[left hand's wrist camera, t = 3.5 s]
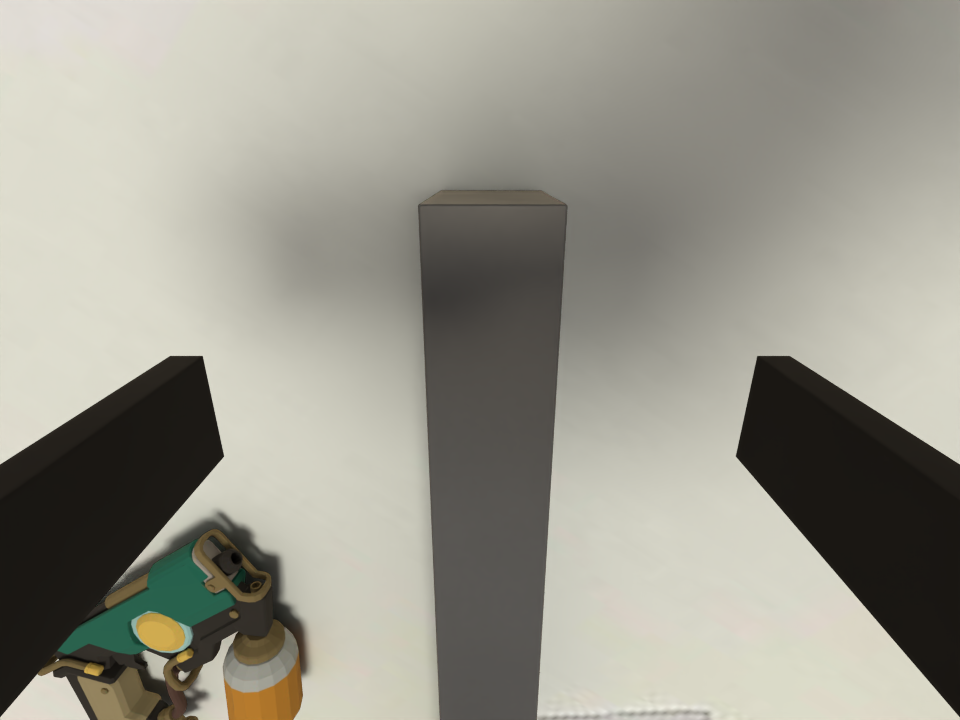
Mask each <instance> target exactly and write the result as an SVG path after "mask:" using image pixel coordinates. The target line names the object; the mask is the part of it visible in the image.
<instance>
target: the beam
mask: <svg viewBox="0 0 960 720" xmlns="http://www.w3.org/2000/svg"><path fill="white" fill-rule="evenodd" d="M418 212H419V235H420V259H421V283H422V307H423V330H424V354H425V378H426V402H427V425H428V449H429V473H430V496H431V520H432V544H433V568H434V591H435V615H436V639H437V663H438V686H439V710H440V720H537V706H538V689H539V672H540V655H541V639H542V622H543V605H544V589H545V572H546V555H547V539H548V522H549V505H550V489H551V472H552V455H553V438H554V422H555V405H556V388H557V372H558V355H559V338H560V322H561V305H562V288H563V271H564V255H565V238H566V221H567V205H566V204H564V203H563V202H561V201H559V200H557V199H555V198H554V197H552V196H550V195H548V194H547V193H545V192H543V191H516V190H441V191H440V192H438V193H436V194H435V195H433V196H432V197H430V198H429V199H427V200H425V201H424V202H422V203H421V204H419V206H418Z"/></svg>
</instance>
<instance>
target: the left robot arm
mask: <svg viewBox="0 0 960 720" xmlns="http://www.w3.org/2000/svg"><path fill="white" fill-rule="evenodd" d="M223 457H224V454H223V449H222V445H221V440H220V435H219V430H218V426H217V421H216V416H215V412H214V407H213V402H212V398H211V393H210V388H209V384H208V379H207V374H206V370H205V365H204V360H203V356H170V357H168V358H166V359H165V360H163V361H162V362H160V363H159V364H157V365H155V366H154V367H152V368H151V369H149V370H148V371H146V372H145V373H143V374H141V375H140V376H138V377H137V378H135V379H134V380H132V381H130V382H129V383H127V384H126V385H124V386H123V387H121V388H119V389H118V390H116V391H115V392H113V393H112V394H110V395H108V396H107V397H105V398H104V399H102V400H101V401H99V402H98V403H96V404H94V405H93V406H91V407H90V408H88V409H87V410H85V411H83V412H82V413H80V414H79V415H77V416H76V417H74V418H72V419H71V420H69V421H68V422H66V423H65V424H63V425H61V426H60V427H58V428H57V429H55V430H54V431H52V432H51V433H49V434H47V435H46V436H44V437H43V438H41V439H40V440H38V441H36V442H35V443H33V444H32V445H30V446H29V447H27V448H25V449H24V450H22V451H21V452H19V453H18V454H16V455H14V456H13V457H11V458H10V459H8V460H7V461H5V462H4V463H2V464H0V717H1V716H2V714H3V713H4V712H5V711H6V710H7V709H8V707H9V706H10V705H11V704H12V703H13V702H14V700H15V699H16V698H17V697H18V696H19V695H20V693H21V692H22V691H23V690H24V689H25V688H26V686H27V685H28V684H29V683H30V682H31V681H32V679H33V678H34V677H35V676H36V675H37V674H38V672H39V671H40V670H41V669H42V668H43V667H44V665H45V664H46V663H47V662H48V661H49V660H50V658H51V657H52V656H53V655H54V654H55V653H56V652H57V650H58V649H59V648H60V647H61V646H62V645H63V643H64V642H65V641H66V640H67V639H68V638H69V636H70V635H71V634H72V633H73V632H74V631H75V629H76V628H77V627H78V626H79V625H80V624H81V622H82V621H83V620H84V619H85V618H86V617H87V615H88V614H89V613H90V612H91V611H92V610H93V608H94V607H95V606H96V605H97V604H98V603H99V601H100V600H101V599H102V598H103V597H104V596H105V594H106V593H107V592H108V591H109V590H110V589H111V587H112V586H113V585H114V584H115V583H116V582H117V580H118V579H119V578H120V577H121V576H122V575H123V573H124V572H125V571H126V570H127V569H128V568H129V567H130V565H131V564H132V563H133V562H134V561H135V560H136V558H137V557H138V556H139V555H140V554H141V553H142V551H143V550H144V549H145V548H146V547H147V546H148V544H149V543H150V542H151V541H152V540H153V539H154V537H155V536H156V535H157V534H158V533H159V532H160V530H161V529H162V528H163V527H164V526H165V525H166V523H167V522H168V521H169V520H170V519H171V518H172V516H173V515H174V514H175V513H176V512H177V511H178V509H179V508H180V507H181V506H182V505H183V504H184V502H185V501H186V500H187V499H188V498H189V497H190V495H191V494H192V493H193V492H194V491H195V490H196V488H197V487H198V486H199V485H200V484H201V483H202V482H203V480H204V479H205V478H206V477H207V476H208V475H209V473H210V472H211V471H212V470H213V469H214V468H215V466H216V465H217V464H218V463H219V462H220V461H221V459H222V458H223ZM736 457H737V458H738V459H739V461H740V462H741V463H742V464H743V465H744V466H745V468H746V469H747V470H748V471H749V472H750V473H751V475H752V476H753V477H754V478H755V479H756V480H757V482H758V483H759V484H760V485H761V486H762V487H763V489H764V490H765V491H766V492H767V493H768V494H769V495H770V497H771V498H772V499H773V500H774V501H775V502H776V504H777V505H778V506H779V507H780V508H781V509H782V511H783V512H784V513H785V514H786V515H787V516H788V518H789V519H790V520H791V521H792V522H793V523H794V525H795V526H796V527H797V528H798V529H799V530H800V532H801V533H802V534H803V535H804V536H805V537H806V539H807V540H808V541H809V542H810V543H811V544H812V546H813V547H814V548H815V549H816V550H817V551H818V553H819V554H820V555H821V556H822V557H823V558H824V560H825V561H826V562H827V563H828V564H829V565H830V567H831V568H832V569H833V570H834V571H835V572H836V573H837V575H838V576H839V577H840V578H841V579H842V580H843V582H844V583H845V584H846V585H847V586H848V587H849V589H850V590H851V591H852V592H853V593H854V594H855V596H856V597H857V598H858V599H859V600H860V601H861V603H862V604H863V605H864V606H865V607H866V608H867V610H868V611H869V612H870V613H871V614H872V615H873V617H874V618H875V619H876V620H877V621H878V622H879V624H880V625H881V626H882V627H883V628H884V629H885V631H886V632H887V633H888V634H889V635H890V636H891V638H892V639H893V640H894V641H895V642H896V643H897V645H898V646H899V647H900V648H901V649H902V650H903V652H904V653H905V654H906V655H907V656H908V657H909V658H910V660H911V661H912V662H913V663H914V664H915V665H916V667H917V668H918V669H919V670H920V671H921V672H922V674H923V675H924V676H925V677H926V678H927V679H928V681H929V682H930V683H931V684H932V685H933V686H934V688H935V689H936V690H937V691H938V692H939V693H940V695H941V696H942V697H943V698H944V699H945V700H946V702H947V703H948V704H949V705H950V706H951V707H952V709H953V710H954V711H955V712H956V713H957V714H958V716H959V717H960V464H958V463H956V462H955V461H953V460H952V459H950V458H949V457H947V456H946V455H944V454H942V453H941V452H939V451H938V450H936V449H935V448H933V447H931V446H930V445H928V444H927V443H925V442H924V441H922V440H920V439H919V438H917V437H916V436H914V435H913V434H911V433H909V432H908V431H906V430H905V429H903V428H902V427H900V426H899V425H897V424H895V423H894V422H892V421H891V420H889V419H888V418H886V417H884V416H883V415H881V414H880V413H878V412H877V411H875V410H873V409H872V408H870V407H869V406H867V405H866V404H864V403H862V402H861V401H859V400H858V399H856V398H855V397H853V396H852V395H850V394H848V393H847V392H845V391H844V390H842V389H841V388H839V387H837V386H836V385H834V384H833V383H831V382H830V381H828V380H826V379H825V378H823V377H822V376H820V375H819V374H817V373H815V372H814V371H812V370H811V369H809V368H808V367H806V366H804V365H803V364H801V363H800V362H798V361H797V360H795V359H794V358H792V357H790V356H757V360H756V365H755V370H754V374H753V379H752V384H751V388H750V393H749V398H748V402H747V407H746V412H745V416H744V421H743V426H742V430H741V435H740V440H739V444H738V449H737V454H736Z"/></svg>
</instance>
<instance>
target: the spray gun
mask: <svg viewBox="0 0 960 720" xmlns="http://www.w3.org/2000/svg"><path fill="white" fill-rule="evenodd" d="M210 536H213V537H215V538H216V539H217V540H218V541H219V542H220V543H221V544H222V545H223V546H224V547H225V548H226V549H227V550H225V551H224V552H221V551H220V550H219V549H218V548H217V547H216V546H215V545H214V544H213V543H212V542H211V541H210V540H207V539H208V538H209V537H210ZM241 565H242V566H243V567H244V568H245V570H246V571H247V572H248V573H249V574H250V575H251V576H252V577H254V578H259V579H263V580H266V581H265V583H264V585H262V583H261V582H260V581H255V582H253V583H252V584H248V585H247V584H245V576H246V572H245V570H244V569H240V568H241ZM271 583H272V582H271V576H270V574H269V573H267V572H264V571H258V570H257V569H256V568H255V567H254V566H253V565H252V564H251V563H250V562H249V561H248V560H247V559H246V557H245V556H244V555H243V554H242V553H241V552H240V551H239V550H238V549H237V548H236V547H235V546H234V544H233V543H232V542H231V541H230V540H229V539H228V538H227V537H226V536H225V535H224V534H223V533H222V532H221V531H219V530H218V529H212V530H210V531H208V532H207V533H205V534H203V535H202V536H201V537H200V538H199V539H196V540H194V541H192V542H191V543H189V544H187V545H185V546H184V547H182V548H180V549H178V550H177V551H175V552H173V553H171V554H170V555H168V556H166V557H164V558H163V559H161V560H159V561H157V562H156V563H154V564H153V566H152V567H151V569H150V571H149V573H147V574H145V575H143V576H142V577H140V578H138V579H136V580H135V581H133V582H131V583H129V584H128V585H126V586H124V587H122V588H121V589H119V590H117V591H115V592H113V593H112V594H110V595H109V596H107V598H106V599H105V602H103V603H101V604H100V605H98V606H96V607H94V608H93V610H92V611H91V612H90V613H89V614H88V615H87V617H86V618H85V619H84V620H83V621H82V622H81V624H80V625H79V626H78V627H77V628H76V629H75V631H74V632H73V633H72V634H71V635H70V636H69V638H68V639H67V640H66V641H65V642H64V643H63V645H62V646H61V647H60V648H59V649H58V650H57V652H56V653H55V654H54V655H53V656H52V657H51V658H50V660H49V661H48V662H47V663H46V664H45V665H44V667H43V668H42V669H41V670H40V671H39V672H38V675H40V676H43V675H45V674H48V673H50V672H52V671H53V676H54V677H58V678H63V677H65V676H66V677H67V679H68V681H69V682H70V684H71V686H72V688H73V690H74V691H75V693H76V695H77V697H78V699H79V700H80V702H81V704H82V706H83V708H84V709H85V711H86V713H87V715H88V717H89V718H90V720H198V718H197V717H196V716H188V717H184V716H183V714H184V712H185V711H186V708H187V700H186V697H185V695H184V693H183V691H184V690H186V689H188V688H189V686H190V685H191V684H192V683H193V681H194V680H195V679H196V678H197V676H198V674H199V672H200V670H201V668H202V666H203V664H205V663H207V662H210V661H212V660H213V659H214V658H215V656H216V655H217V653H218V651H219V650H220V645H221V641H222V640H223V639H224V638H226V637H228V636H230V635H232V634H233V633H235V632H237V631H238V633H237V634H236V636H235V639H234V641H233V643H232V644H231V646H230V647H229V649H228V652H227V654H226V657H225V660H224V664H223V674H224V683H225V691H226V699H227V708H228V716H229V720H293V719H294V718H295V716H296V715H297V713H298V712H299V710H300V706H301V702H302V697H303V692H302V681H301V670H300V659H299V650H298V646H297V642H296V640H295V638H294V636H293V634H292V633H291V632H290V631H289V630H288V629H287V628H286V627H284V626H283V625H282V624H281V623H280V622H279V621H278V620H275V619H273V600H272V586H271ZM144 650H147V651H150V652H152V653H154V654H157V655H159V656H162V657H164V658H167V659H169V661H168V662H167V663H166V665H165V666H164V670H163V674H164V677H165V683H166V686H167V690H168V694H169V696H170V698H171V700H172V702H173V704H172V705H170V706H169V705H167V704H166V703H165V702H164V701H163V700H162V698H161V696H160V695H159V694H156V693H153V692H149V691H146V690H145V689H144V687H143V684H142V682H141V679H140V676H139V674H138V671H137V669H140V670H145V669H146V667H147V666H148V664H147V662H145V661H143V660H142V659H141V658H140V657H139V655H138V653H140V652H142V651H144ZM57 659H59V661H57V662H55V661H56V660H57ZM54 662H55V663H54ZM191 670H192V671H191ZM180 671H184V672H185V673H186V672H189V671H191V673H190V674H189V676H188V677H187V678H186V679H185V681H183V682H181V681H180V680H179V679H178V674H179V672H180Z"/></svg>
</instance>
